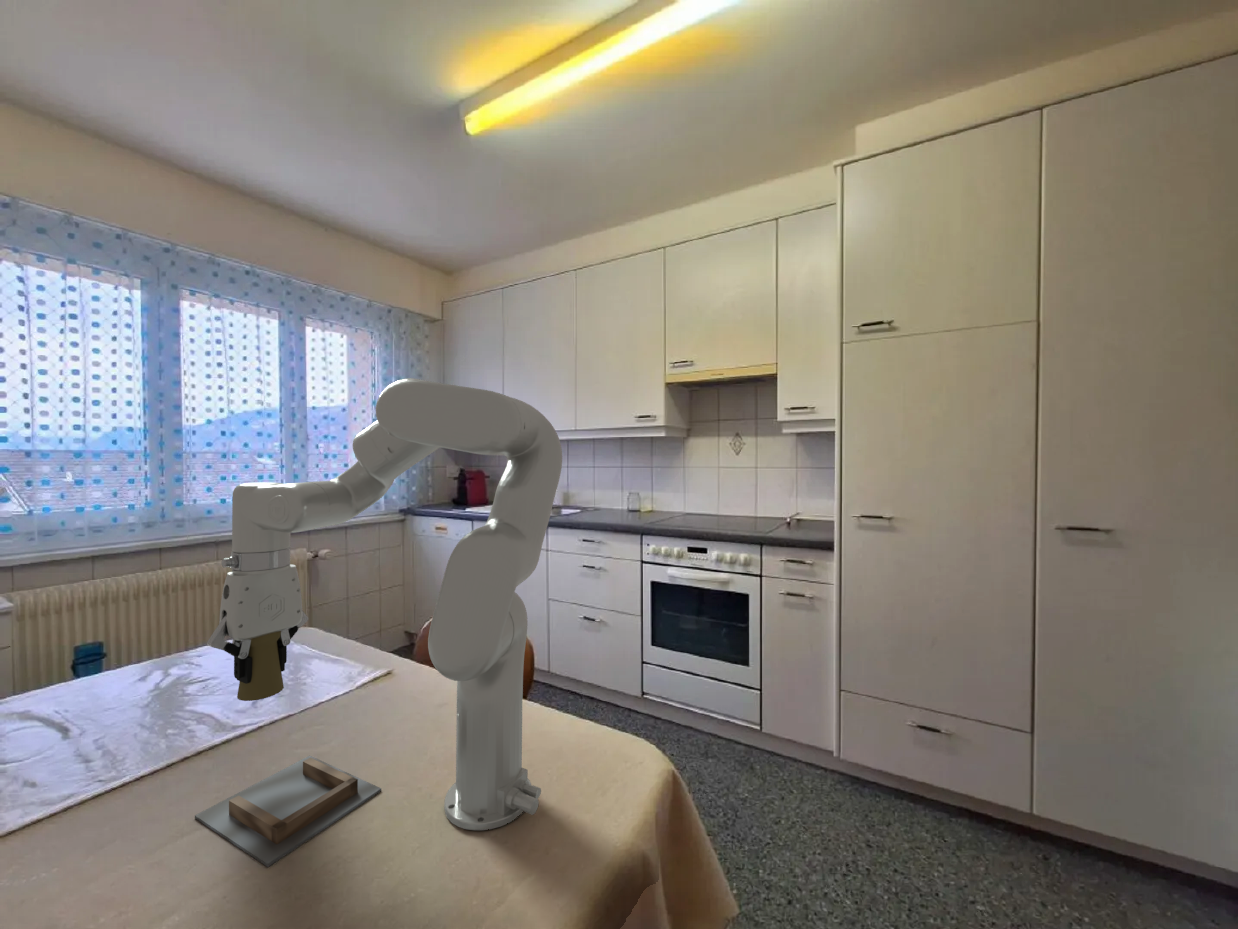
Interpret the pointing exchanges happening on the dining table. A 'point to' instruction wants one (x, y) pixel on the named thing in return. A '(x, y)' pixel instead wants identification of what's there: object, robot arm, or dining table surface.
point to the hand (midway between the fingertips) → (261, 674)
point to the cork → (263, 669)
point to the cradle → (287, 808)
